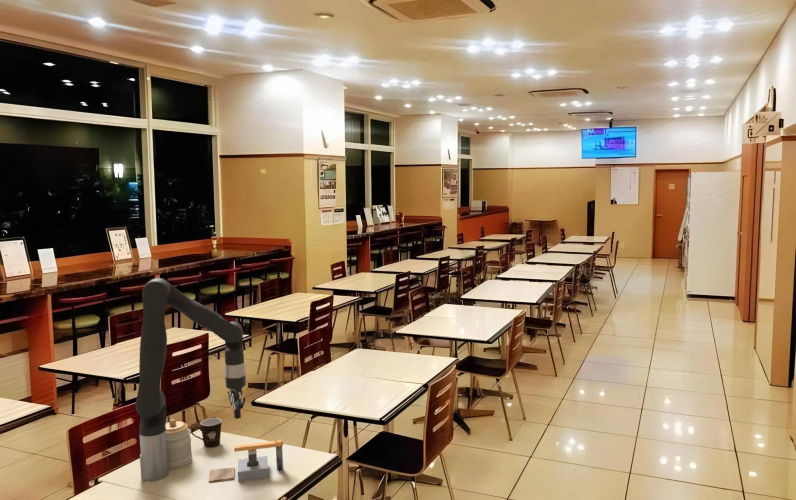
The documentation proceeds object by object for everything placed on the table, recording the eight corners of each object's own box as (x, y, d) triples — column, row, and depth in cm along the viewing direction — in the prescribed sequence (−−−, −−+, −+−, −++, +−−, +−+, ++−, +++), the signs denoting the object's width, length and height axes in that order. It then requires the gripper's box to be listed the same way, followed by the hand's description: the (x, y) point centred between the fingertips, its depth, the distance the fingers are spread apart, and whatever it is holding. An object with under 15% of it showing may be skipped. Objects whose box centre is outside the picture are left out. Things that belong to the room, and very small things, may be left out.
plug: (249, 475, 231) (248, 452, 230) (249, 471, 234) (248, 448, 233) (257, 474, 232) (256, 451, 231) (257, 470, 235) (256, 447, 234)
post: (276, 471, 234) (276, 447, 233) (276, 468, 236) (275, 444, 235) (283, 470, 234) (282, 446, 233) (282, 467, 237) (282, 444, 236)
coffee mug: (225, 440, 263) (224, 418, 262) (218, 449, 255) (216, 426, 254) (199, 440, 264) (198, 417, 263) (191, 448, 256) (189, 425, 255)
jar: (193, 466, 239) (190, 422, 238) (157, 472, 235) (155, 427, 233) (191, 453, 252) (189, 411, 250) (157, 458, 247) (154, 416, 245)
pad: (208, 482, 226) (208, 480, 226) (210, 471, 234) (210, 470, 234) (234, 479, 228) (234, 477, 228) (234, 468, 237) (234, 467, 236)
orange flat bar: (283, 443, 236) (282, 439, 236) (283, 446, 233) (283, 442, 233) (234, 448, 232) (234, 445, 232) (234, 452, 229) (234, 448, 229)
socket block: (238, 481, 226) (237, 472, 226) (238, 468, 237) (238, 459, 237) (268, 477, 229) (268, 468, 229) (267, 464, 240) (267, 456, 239)
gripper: (219, 372, 238) (222, 415, 240) (231, 380, 227) (234, 425, 229) (238, 368, 242) (240, 410, 244) (251, 376, 231) (253, 420, 233)
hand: (237, 418), depth 236 cm, fingers closed
